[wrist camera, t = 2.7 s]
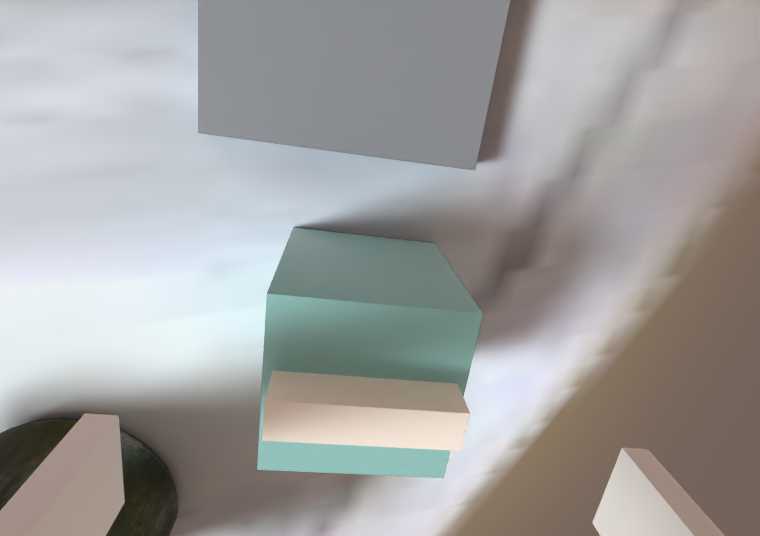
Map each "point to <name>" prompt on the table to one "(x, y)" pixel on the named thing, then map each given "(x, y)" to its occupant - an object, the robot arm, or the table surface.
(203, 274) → the table surface
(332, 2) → the post board
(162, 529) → the mug
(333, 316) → the teal cube with ledge
